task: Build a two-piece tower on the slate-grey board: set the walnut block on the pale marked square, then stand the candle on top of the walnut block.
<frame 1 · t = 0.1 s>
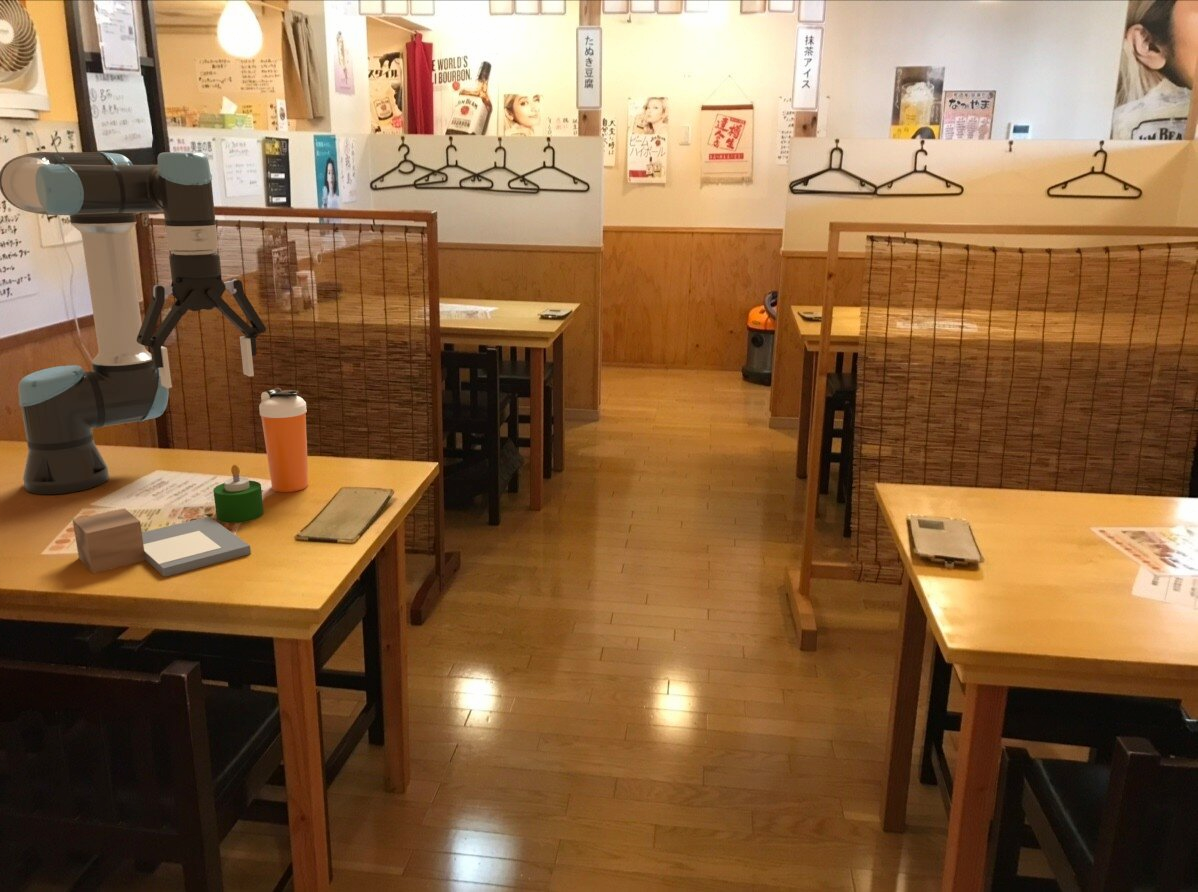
hand: (208, 380, 157), 28 cm above the table, fingers open, 13 cm apart
shaker bottle: (290, 487, 190), on the table
block: (112, 559, 155), on the table
candle: (240, 516, 174), on the table
board: (188, 548, 159), on the table
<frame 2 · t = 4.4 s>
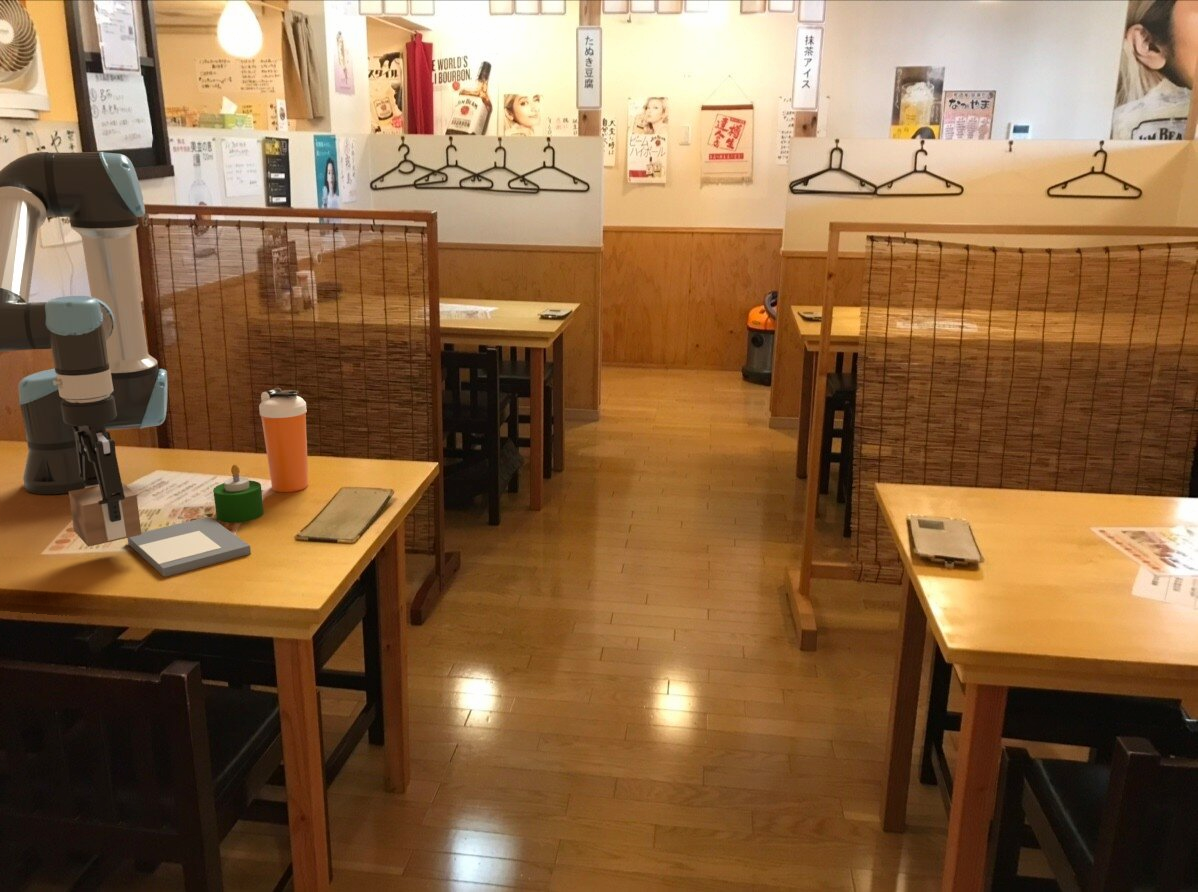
hand: (108, 529, 154), 5 cm above the table, fingers closed on block, 8 cm apart
block: (107, 532, 154), point 4 cm above the table, touching gripper
everything else where it was.
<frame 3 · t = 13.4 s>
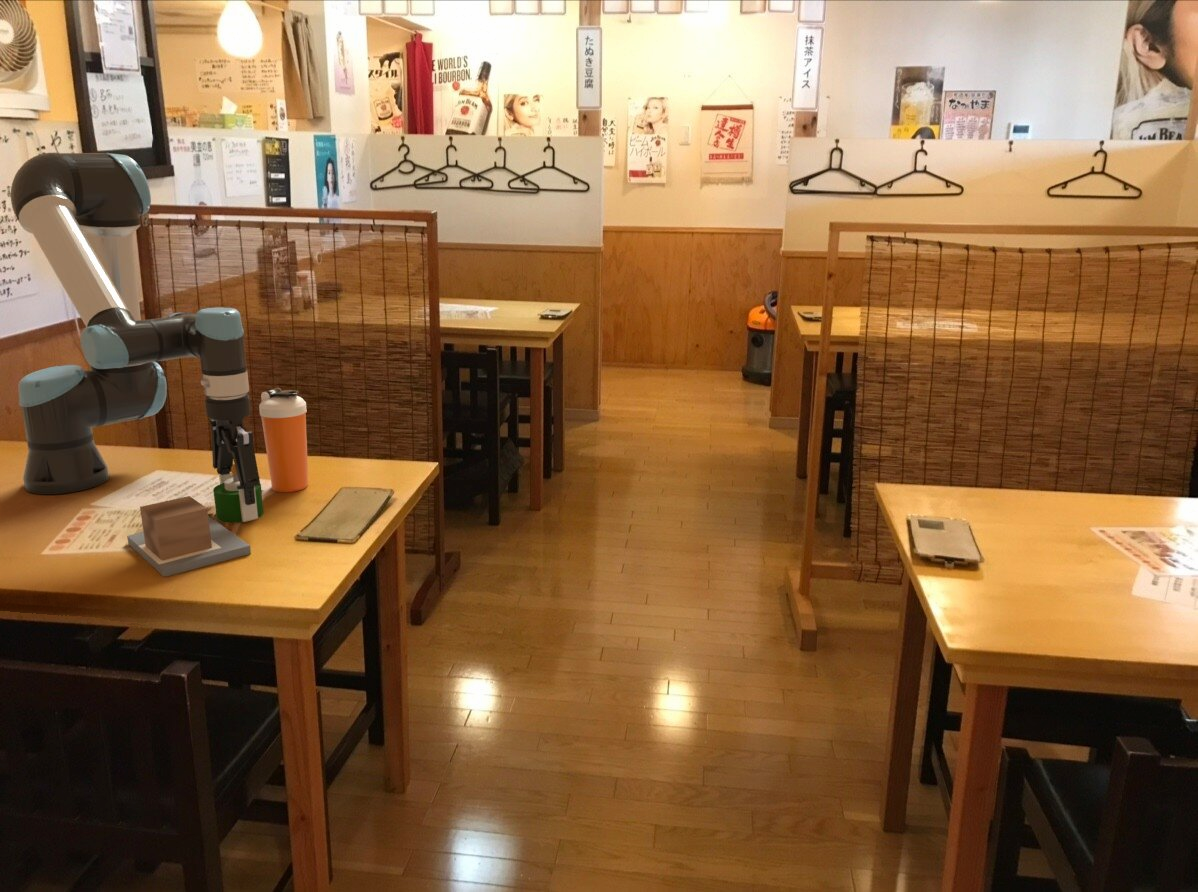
hand: (240, 513, 174), 0 cm above the table, fingers closed on candle, 8 cm apart
block: (178, 546, 156), point 2 cm above the table, touching board
candle: (240, 515, 174), on the table, touching gripper
everything else where it was.
when the fingers open (10 cm above the table, at t = 18.6 s): candle drops 1 cm, resting on block.
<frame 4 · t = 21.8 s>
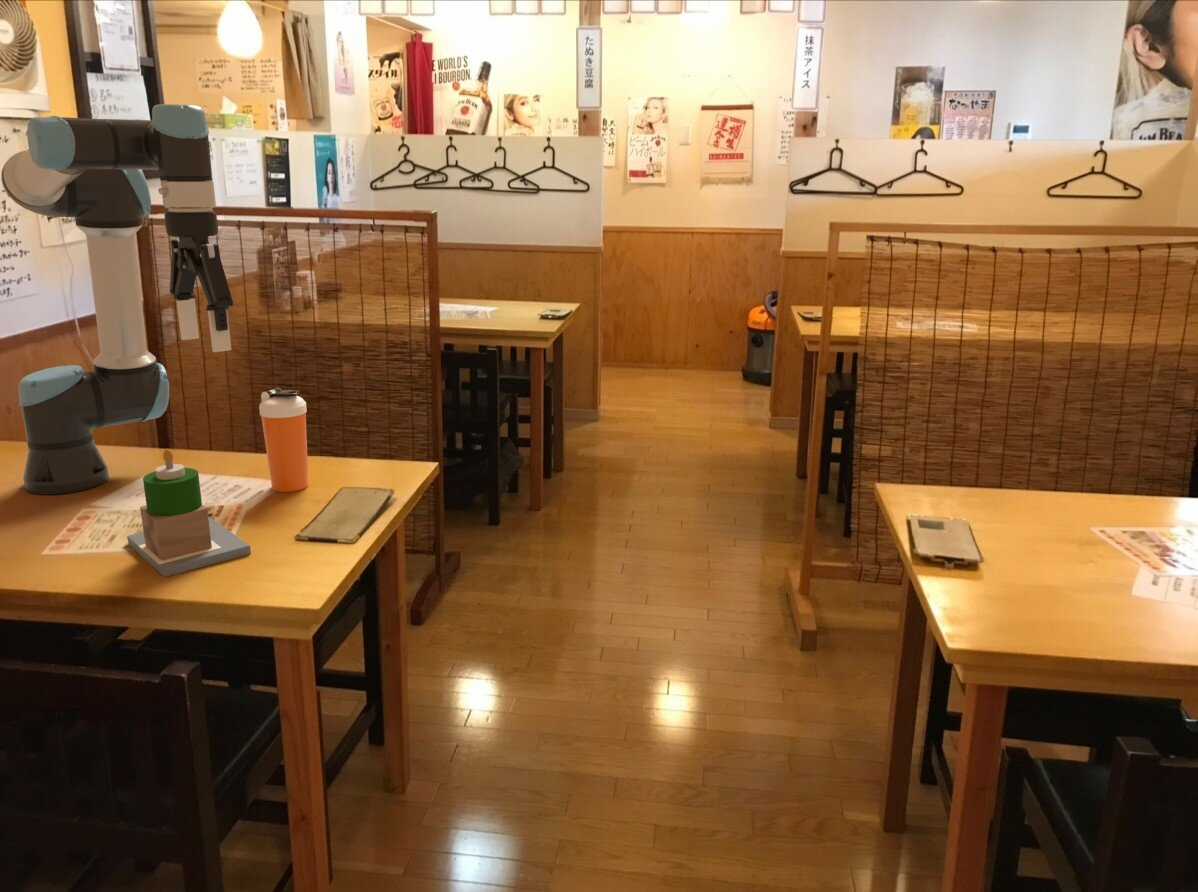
hand: (205, 345, 151), 35 cm above the table, fingers open, 13 cm apart
block: (178, 547, 155), point 2 cm above the table, touching board, candle
candle: (175, 508, 154), point 8 cm above the table, touching block
everything else where it was.
at the end: block inside the target area on the board (0.2 cm from its centre), point 1.6 cm above the board's base; candle 0.4 cm off-centre on the block, point 6.8 cm above the block's base; candle tilted 0° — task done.
